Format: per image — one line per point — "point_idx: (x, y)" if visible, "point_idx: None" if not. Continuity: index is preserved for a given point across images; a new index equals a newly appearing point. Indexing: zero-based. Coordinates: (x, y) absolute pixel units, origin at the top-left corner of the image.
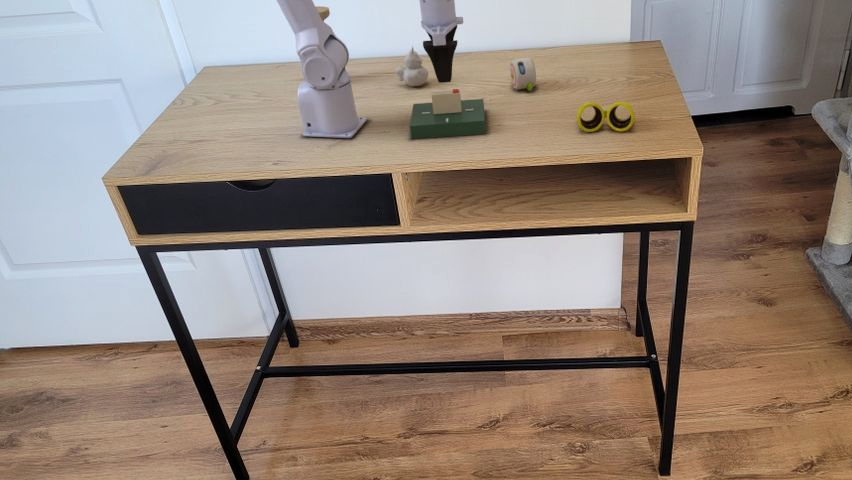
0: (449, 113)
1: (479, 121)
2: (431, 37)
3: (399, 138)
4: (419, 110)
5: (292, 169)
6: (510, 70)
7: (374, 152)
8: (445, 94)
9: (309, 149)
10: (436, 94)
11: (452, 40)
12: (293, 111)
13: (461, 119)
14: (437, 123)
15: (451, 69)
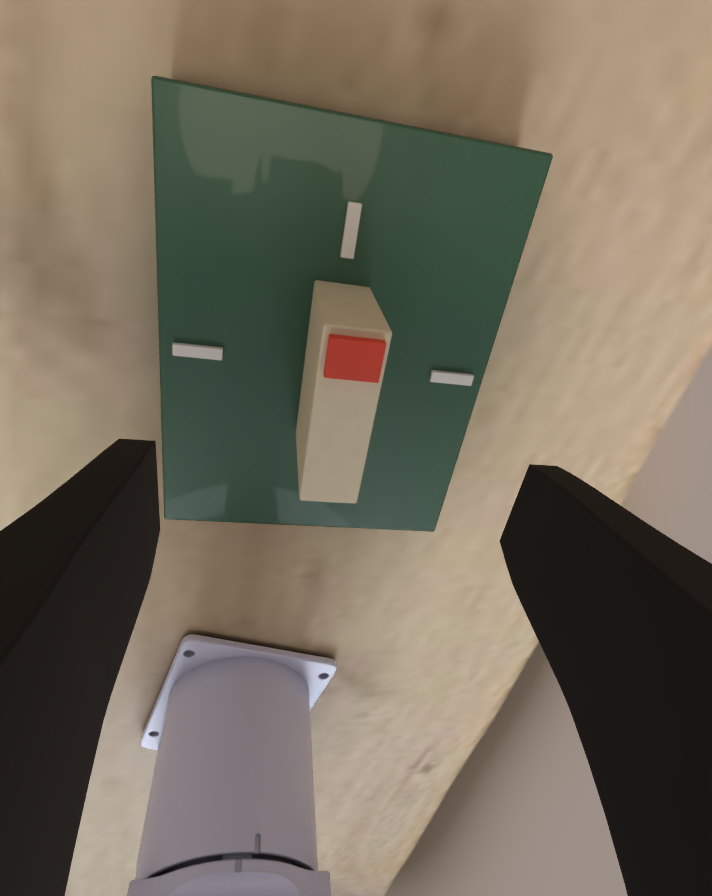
0: None
1: (539, 189)
2: (63, 885)
3: (390, 531)
4: (262, 495)
5: (475, 739)
6: None
7: (471, 595)
8: (371, 425)
9: (368, 729)
10: (359, 477)
11: (38, 624)
12: None
13: (468, 299)
14: (463, 424)
15: (650, 528)
